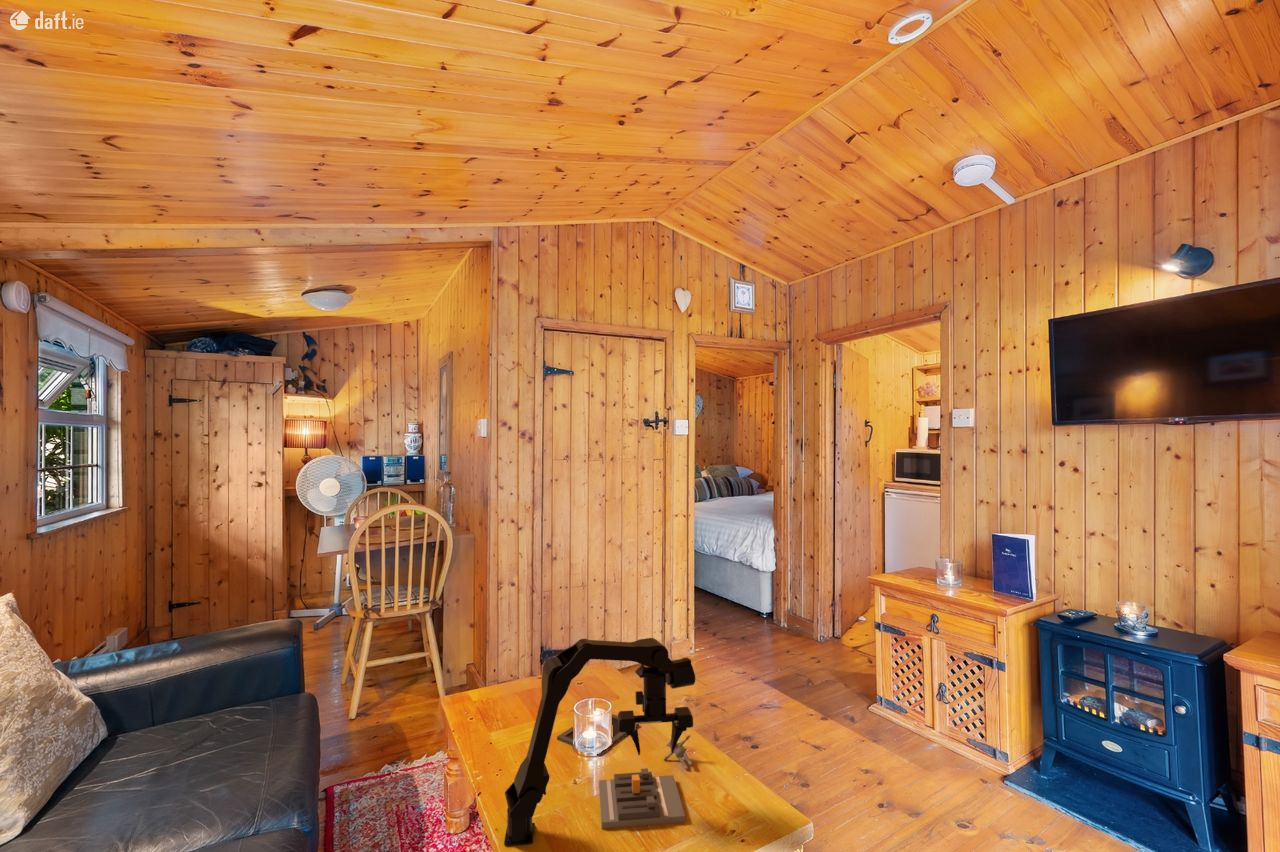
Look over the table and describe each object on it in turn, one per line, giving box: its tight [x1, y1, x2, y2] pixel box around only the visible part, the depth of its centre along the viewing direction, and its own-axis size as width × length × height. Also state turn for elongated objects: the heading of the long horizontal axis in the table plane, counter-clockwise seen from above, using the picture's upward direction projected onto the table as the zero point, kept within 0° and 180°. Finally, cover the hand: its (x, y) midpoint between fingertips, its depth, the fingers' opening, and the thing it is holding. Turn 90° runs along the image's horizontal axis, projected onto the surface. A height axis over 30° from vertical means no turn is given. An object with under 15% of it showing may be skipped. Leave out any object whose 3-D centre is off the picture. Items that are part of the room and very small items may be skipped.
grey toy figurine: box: [663, 734, 693, 771], centre depth 164 cm, size 10×6×9 cm
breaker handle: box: [632, 774, 640, 793], centre depth 146 cm, size 2×2×3 cm
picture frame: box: [556, 713, 640, 747], centre depth 181 cm, size 16×2×21 cm
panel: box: [598, 767, 686, 830], centre depth 146 cm, size 17×20×4 cm
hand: (655, 753), depth 147 cm, fingers open, 8 cm apart
